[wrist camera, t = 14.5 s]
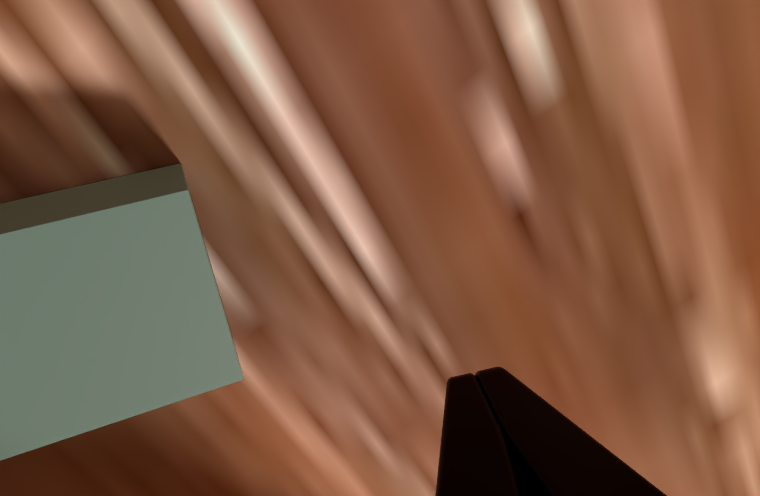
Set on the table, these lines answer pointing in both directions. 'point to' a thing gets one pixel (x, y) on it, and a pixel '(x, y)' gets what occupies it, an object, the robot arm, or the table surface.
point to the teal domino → (105, 308)
